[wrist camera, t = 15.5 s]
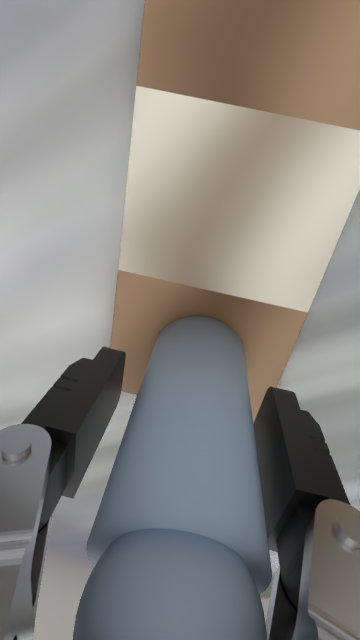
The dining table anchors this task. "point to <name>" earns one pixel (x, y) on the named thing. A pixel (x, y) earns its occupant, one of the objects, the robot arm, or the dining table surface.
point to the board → (237, 172)
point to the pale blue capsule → (182, 502)
